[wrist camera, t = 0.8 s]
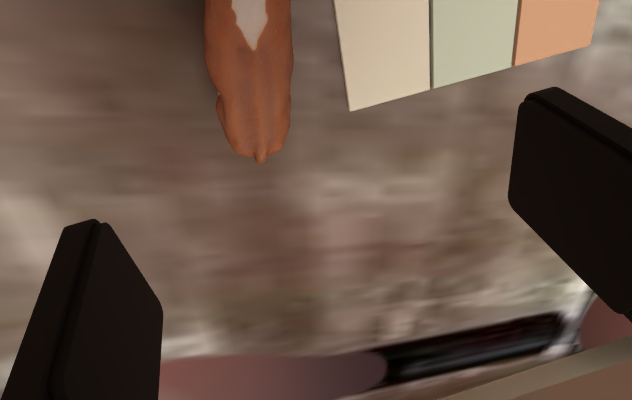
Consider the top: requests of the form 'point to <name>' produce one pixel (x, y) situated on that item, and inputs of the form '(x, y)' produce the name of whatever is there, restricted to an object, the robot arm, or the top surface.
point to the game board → (449, 41)
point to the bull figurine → (250, 71)
